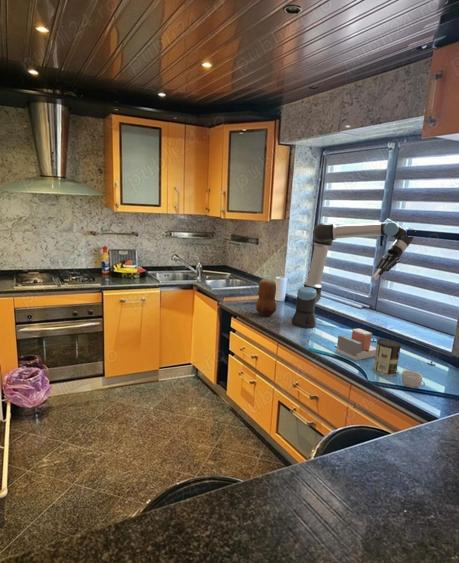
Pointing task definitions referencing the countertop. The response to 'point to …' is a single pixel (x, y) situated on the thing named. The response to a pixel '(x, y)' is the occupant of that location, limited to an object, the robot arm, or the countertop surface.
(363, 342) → the orange rectangular block
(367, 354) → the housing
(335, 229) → the robot arm
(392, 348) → the coffee can
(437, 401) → the countertop surface
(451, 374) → the countertop surface
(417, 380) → the teacup
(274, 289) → the brown curvy cylinder
